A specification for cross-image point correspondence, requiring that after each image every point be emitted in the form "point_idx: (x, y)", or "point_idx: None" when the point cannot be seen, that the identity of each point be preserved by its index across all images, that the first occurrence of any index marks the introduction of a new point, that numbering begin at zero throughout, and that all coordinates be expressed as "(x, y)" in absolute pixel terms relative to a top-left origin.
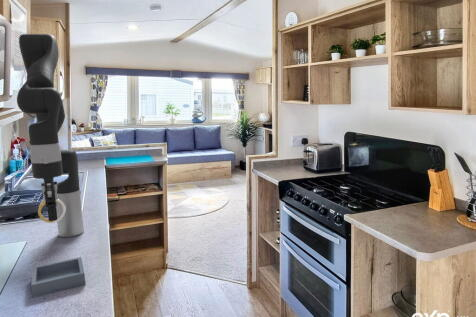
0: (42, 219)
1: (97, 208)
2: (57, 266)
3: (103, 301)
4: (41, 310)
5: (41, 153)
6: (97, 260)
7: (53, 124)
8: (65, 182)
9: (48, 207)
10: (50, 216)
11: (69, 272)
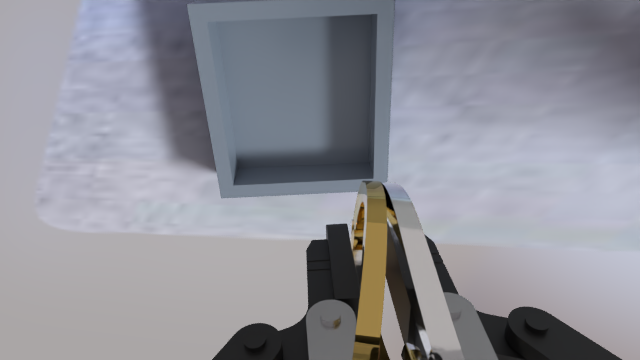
0: (360, 185)
1: None
2: (373, 96)
3: (94, 217)
4: (86, 39)
5: None
6: None
7: None
8: None
9: (305, 326)
10: (308, 263)
11: (337, 130)
